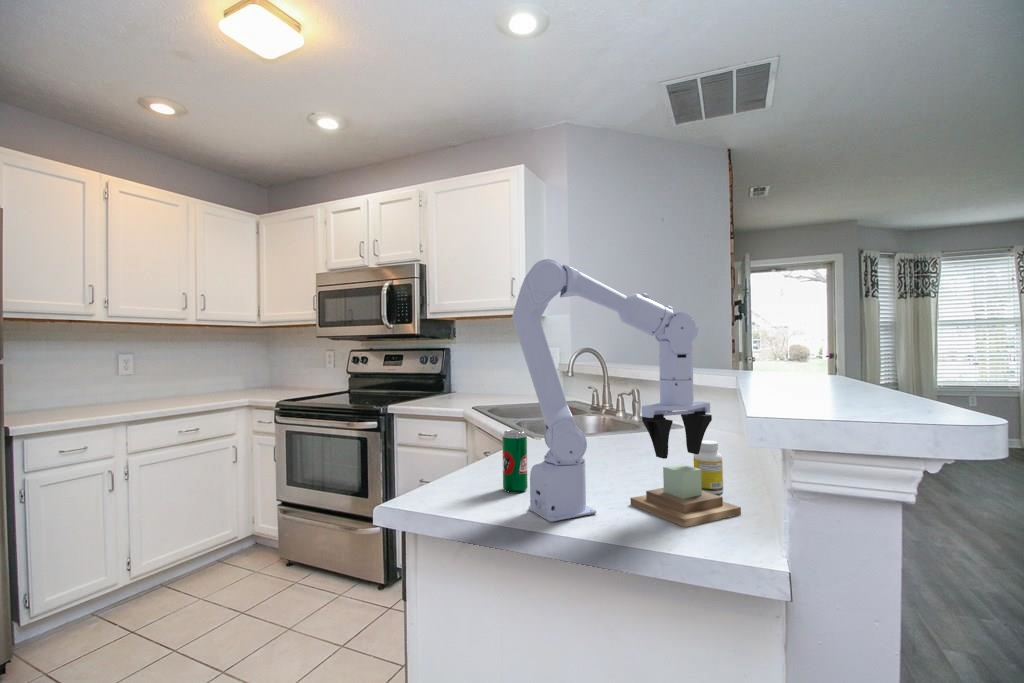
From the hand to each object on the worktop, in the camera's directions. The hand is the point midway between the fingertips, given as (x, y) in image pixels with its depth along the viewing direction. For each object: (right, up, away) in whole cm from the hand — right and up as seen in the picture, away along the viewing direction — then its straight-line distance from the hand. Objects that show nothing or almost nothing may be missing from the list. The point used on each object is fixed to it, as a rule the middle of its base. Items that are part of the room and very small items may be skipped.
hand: (677, 455), depth 84 cm
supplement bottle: (+10, -10, +10) cm, 17 cm away
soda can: (-29, -10, +12) cm, 33 cm away
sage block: (+1, -7, -1) cm, 7 cm away
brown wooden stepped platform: (+1, -9, -1) cm, 9 cm away
